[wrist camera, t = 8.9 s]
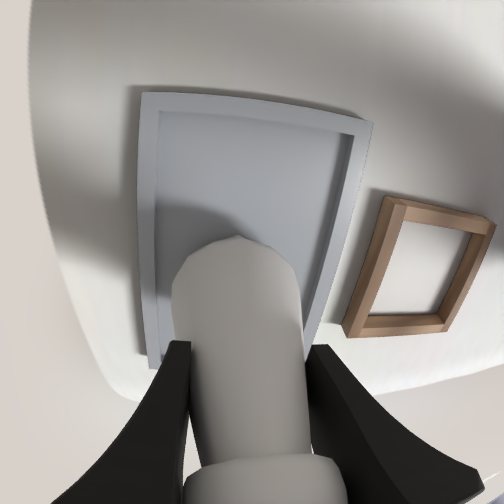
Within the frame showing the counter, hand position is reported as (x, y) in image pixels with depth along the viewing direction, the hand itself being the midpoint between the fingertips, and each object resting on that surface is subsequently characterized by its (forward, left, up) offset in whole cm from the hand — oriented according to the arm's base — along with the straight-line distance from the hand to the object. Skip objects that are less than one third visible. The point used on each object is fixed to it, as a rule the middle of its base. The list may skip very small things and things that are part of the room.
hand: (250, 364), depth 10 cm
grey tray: (0, 0, -7) cm, 7 cm away
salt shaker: (0, 0, -7) cm, 7 cm away
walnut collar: (-12, 0, -7) cm, 13 cm away
